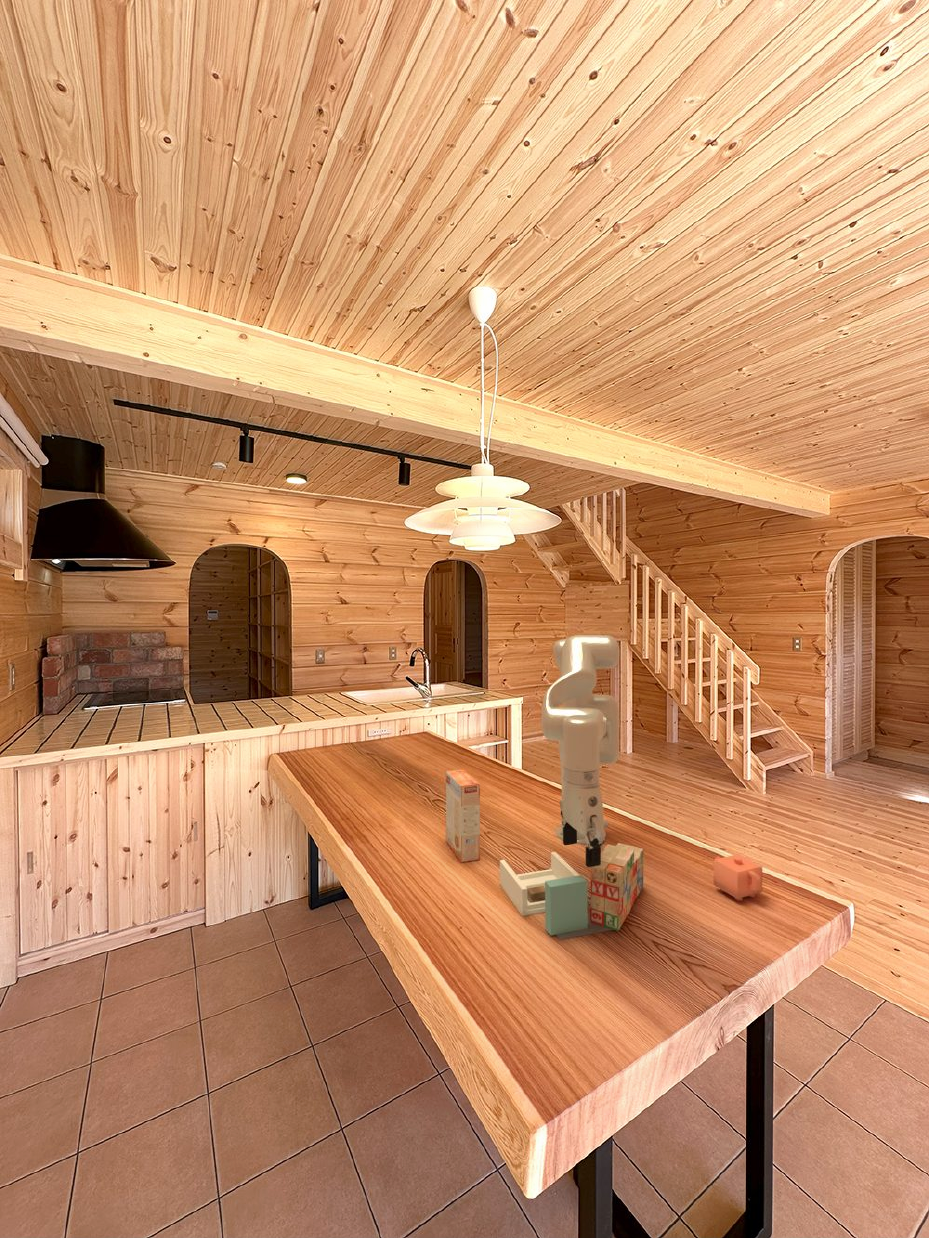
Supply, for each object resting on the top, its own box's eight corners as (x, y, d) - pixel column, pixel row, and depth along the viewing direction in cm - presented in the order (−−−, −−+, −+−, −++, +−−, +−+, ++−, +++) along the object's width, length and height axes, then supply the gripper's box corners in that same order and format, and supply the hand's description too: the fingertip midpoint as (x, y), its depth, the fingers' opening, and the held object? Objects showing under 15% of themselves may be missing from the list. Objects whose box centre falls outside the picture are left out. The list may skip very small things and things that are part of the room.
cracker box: (481, 860, 139) (481, 782, 139) (460, 864, 137) (459, 785, 137) (465, 838, 152) (464, 768, 152) (445, 841, 151) (444, 770, 150)
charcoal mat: (600, 913, 114) (600, 911, 114) (616, 929, 109) (616, 927, 109) (547, 924, 111) (547, 922, 111) (560, 941, 105) (560, 939, 105)
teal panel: (581, 874, 111) (545, 881, 108) (587, 880, 108) (550, 887, 106) (581, 921, 111) (545, 928, 108) (587, 928, 108) (550, 935, 106)
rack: (555, 875, 131) (555, 851, 131) (583, 905, 118) (583, 878, 118) (499, 884, 127) (499, 860, 127) (522, 916, 113) (522, 889, 113)
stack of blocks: (617, 879, 129) (618, 830, 128) (643, 886, 125) (644, 836, 125) (589, 921, 110) (590, 864, 110) (618, 931, 107) (620, 872, 107)
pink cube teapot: (727, 876, 130) (727, 843, 130) (770, 901, 119) (770, 865, 119) (703, 882, 127) (703, 848, 127) (745, 908, 116) (745, 871, 116)
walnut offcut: (543, 896, 120) (543, 885, 120) (548, 902, 117) (547, 891, 117) (527, 899, 118) (527, 888, 118) (531, 905, 116) (531, 893, 116)
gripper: (620, 786, 102) (619, 872, 103) (576, 760, 119) (576, 834, 119) (586, 791, 100) (586, 878, 101) (546, 764, 116) (547, 839, 117)
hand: (581, 854), depth 110 cm, fingers open, 9 cm apart
